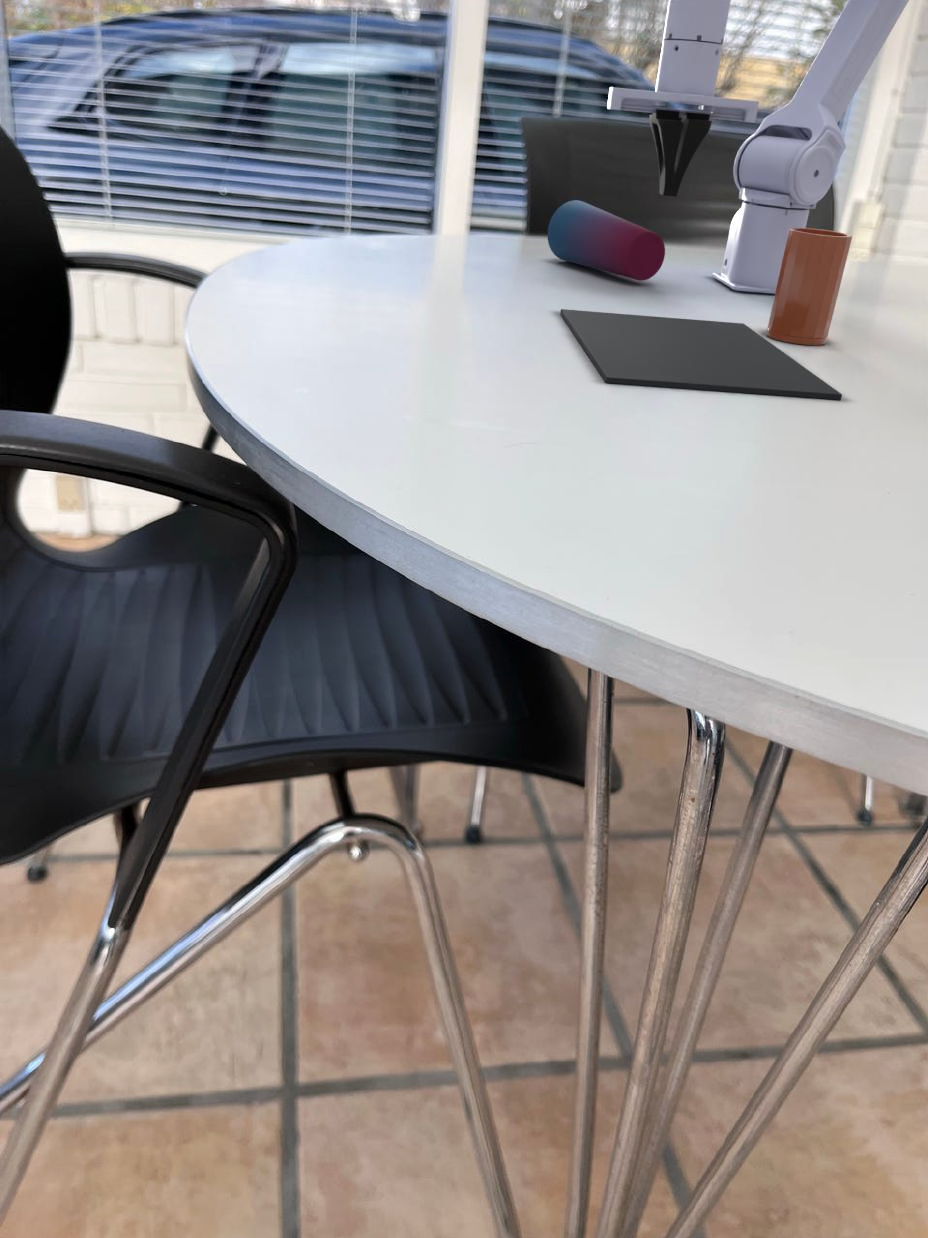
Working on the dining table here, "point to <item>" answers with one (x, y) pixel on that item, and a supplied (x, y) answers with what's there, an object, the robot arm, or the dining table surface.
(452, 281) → the dining table surface
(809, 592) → the dining table surface
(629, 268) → the cup
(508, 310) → the dining table surface
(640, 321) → the mat
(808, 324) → the small cup
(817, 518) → the dining table surface
